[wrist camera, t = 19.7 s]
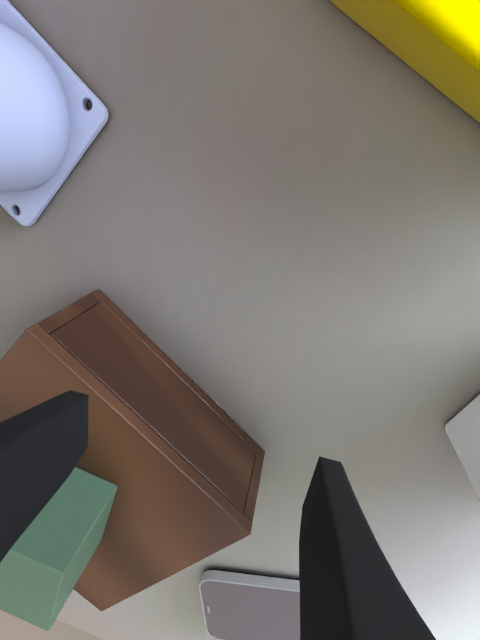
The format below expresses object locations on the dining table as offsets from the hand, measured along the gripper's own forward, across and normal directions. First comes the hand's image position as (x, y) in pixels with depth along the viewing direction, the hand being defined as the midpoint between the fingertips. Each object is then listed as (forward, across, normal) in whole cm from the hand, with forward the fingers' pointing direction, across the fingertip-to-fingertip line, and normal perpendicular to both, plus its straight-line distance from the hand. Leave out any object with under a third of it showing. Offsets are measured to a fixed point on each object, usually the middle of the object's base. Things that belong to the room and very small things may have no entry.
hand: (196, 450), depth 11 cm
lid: (+5, +7, +10) cm, 13 cm away
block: (+4, +7, +10) cm, 13 cm away
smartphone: (+10, -8, +23) cm, 26 cm away
